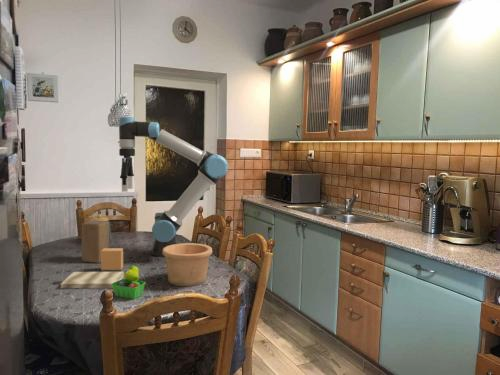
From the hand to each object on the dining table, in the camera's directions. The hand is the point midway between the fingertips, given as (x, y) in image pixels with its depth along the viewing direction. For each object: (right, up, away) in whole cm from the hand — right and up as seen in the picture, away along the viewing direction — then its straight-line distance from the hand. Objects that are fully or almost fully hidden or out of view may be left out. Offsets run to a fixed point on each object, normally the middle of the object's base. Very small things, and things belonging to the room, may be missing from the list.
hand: (127, 190), depth 203 cm
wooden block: (-17, -36, +3) cm, 40 cm away
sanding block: (-3, -38, -13) cm, 40 cm away
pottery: (+34, -40, -24) cm, 58 cm away
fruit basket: (+14, -42, -44) cm, 62 cm away
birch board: (-5, -40, -30) cm, 50 cm away
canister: (-29, -32, +40) cm, 60 cm away
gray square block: (-19, -40, -32) cm, 54 cm away
